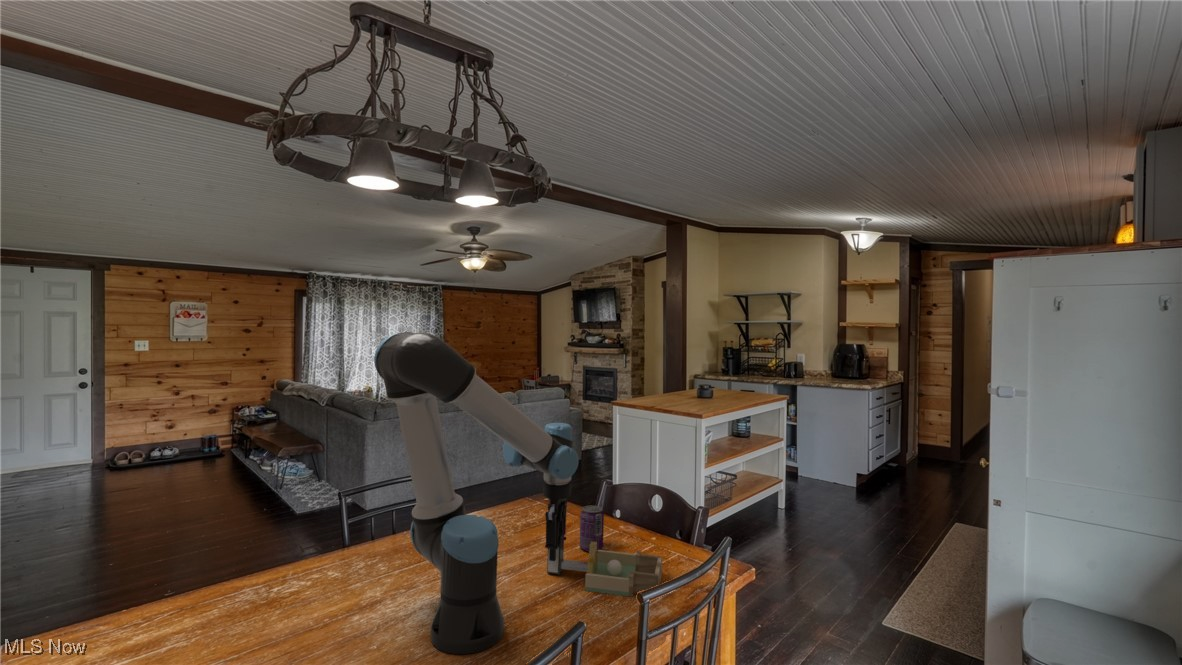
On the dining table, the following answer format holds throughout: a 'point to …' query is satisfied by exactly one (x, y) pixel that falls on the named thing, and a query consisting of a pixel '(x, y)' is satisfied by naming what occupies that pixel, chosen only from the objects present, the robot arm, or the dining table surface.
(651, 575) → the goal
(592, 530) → the beverage can
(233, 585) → the dining table surface
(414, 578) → the dining table surface
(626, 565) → the pitch
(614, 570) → the ball
